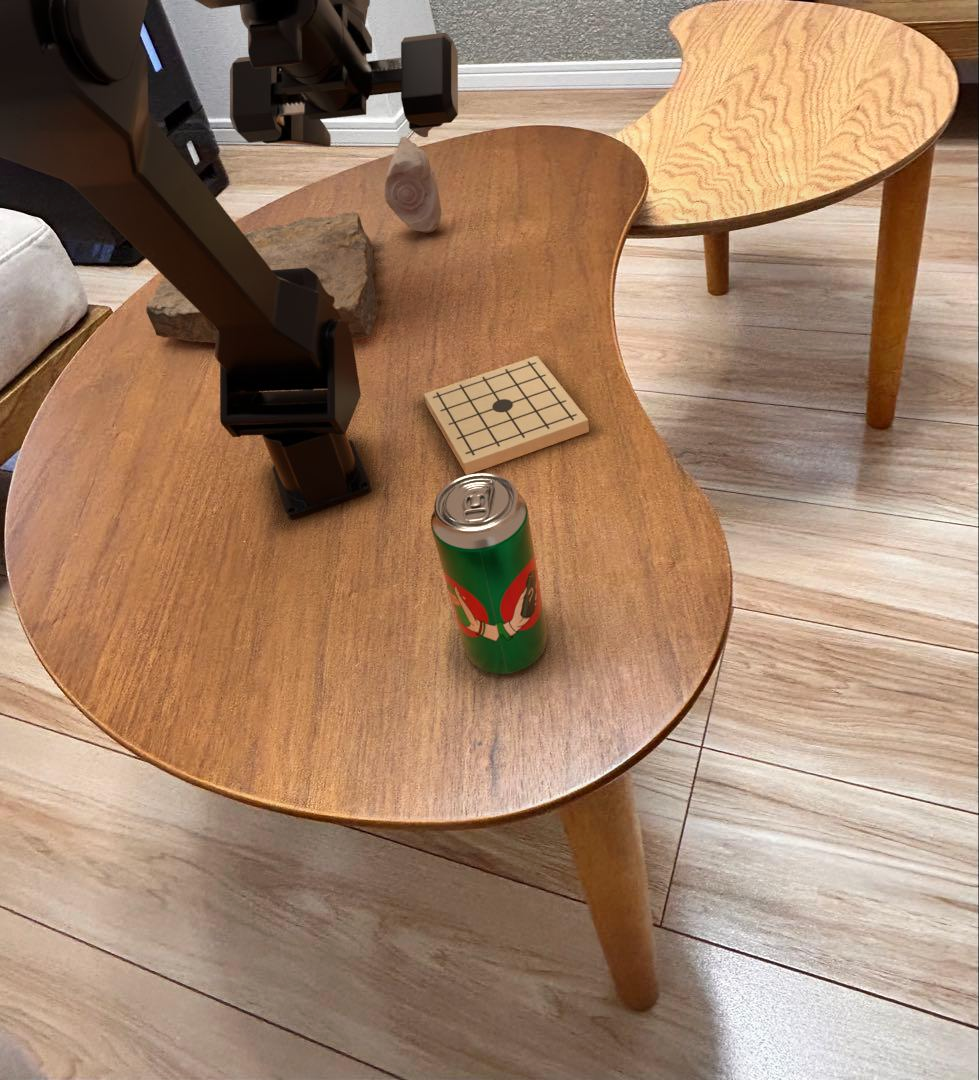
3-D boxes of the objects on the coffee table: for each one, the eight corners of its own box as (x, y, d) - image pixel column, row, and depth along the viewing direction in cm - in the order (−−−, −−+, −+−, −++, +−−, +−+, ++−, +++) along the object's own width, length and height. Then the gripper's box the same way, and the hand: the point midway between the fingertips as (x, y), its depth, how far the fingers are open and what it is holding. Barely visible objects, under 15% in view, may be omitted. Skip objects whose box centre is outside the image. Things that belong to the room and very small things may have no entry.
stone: (154, 355, 83) (134, 314, 79) (222, 255, 96) (207, 217, 93) (368, 344, 79) (356, 300, 75) (408, 241, 92) (399, 200, 89)
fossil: (392, 241, 93) (369, 146, 86) (403, 225, 95) (382, 132, 88) (442, 241, 91) (423, 144, 84) (453, 225, 93) (435, 130, 86)
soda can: (544, 608, 54) (522, 461, 45) (551, 674, 50) (528, 529, 42) (464, 617, 54) (427, 474, 46) (465, 684, 51) (425, 541, 42)
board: (589, 432, 65) (588, 418, 64) (466, 475, 64) (463, 463, 63) (538, 367, 72) (537, 354, 71) (426, 405, 71) (423, 392, 70)
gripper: (430, -92, 61) (477, 35, 76) (189, -55, 65) (280, 58, 80) (430, 66, 61) (477, 161, 76) (189, 93, 65) (280, 179, 80)
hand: (376, 136), depth 78 cm, fingers open, 9 cm apart
